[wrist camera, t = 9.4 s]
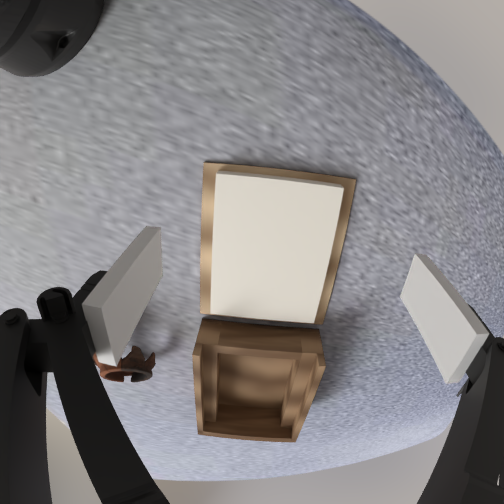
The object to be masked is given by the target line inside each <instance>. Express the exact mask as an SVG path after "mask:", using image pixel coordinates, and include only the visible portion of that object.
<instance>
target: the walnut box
mask: <svg viewBox="0 0 504 504" xmlns="http://www.w3.org/2000/svg"><path fill="white" fill-rule="evenodd" d="M192 356H193V374H194V390H195V404H196V417H197V428H198V434H199V435H206V436H214V437H222V438H231V439H242V440H255V441H271V442H296V440H297V437H298V435H299V433H300V430H301V428H302V426H303V423H304V421H305V419H306V416H307V414H308V411H309V409H310V406H311V404H312V401H313V399H314V396H315V394H316V391H317V389H318V386H319V383H320V381H321V378H322V375H323V373H324V370H325V367H326V364H325V359H324V353H323V348H322V343H321V337H320V332H319V329H311V328H296V327H283V326H271V325H259V324H249V323H239V322H229V321H220V320H212V319H203V318H202V322H201V325H200V329H199V333H198V336H197V340H196V344H195V347H194V351H193V355H192Z"/></svg>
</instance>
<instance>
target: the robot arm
mask: <svg viewBox="0 0 504 504" xmlns="http://www.w3.org/2000/svg"><path fill="white" fill-rule="evenodd" d="M103 4H104V0H0V68H2V69H4V70H6V71H8V72H10V73H12V74H14V75H17V76H22V77H38V76H44V75H47V74H50V73H52V72H54V71H56V70H58V69H59V68H61V67H62V66H64V65H65V64H66V63H68V62H69V61H70V60H71V59H72V58H73V57H74V56H75V55H76V54H77V53H78V52H79V51H80V49H81V48H82V47H83V46H84V44H85V43H86V42H87V40H88V39H89V37H90V36H91V34H92V32H93V31H94V29H95V27H96V25H97V22H98V20H99V18H100V15H101V12H102V8H103ZM162 277H163V267H162V248H161V227H151V226H146V227H145V228H144V229H143V230H142V232H141V233H140V234H139V235H138V236H137V237H136V238H135V240H134V241H133V242H132V243H131V244H130V245H129V247H128V248H127V249H126V250H125V251H124V252H123V254H122V255H121V256H120V257H119V258H118V260H117V261H116V262H115V263H114V264H113V266H112V267H111V268H110V269H109V270H108V271H101V270H100V271H98V272H97V273H95V274H93V275H92V276H91V277H90V278H89V279H88V280H87V281H86V282H85V284H84V285H83V286H82V287H81V289H80V290H79V291H78V292H77V293H76V294H75V296H74V297H73V298H72V294H71V292H70V291H69V290H68V289H66V288H63V287H55V288H51V289H48V290H45V291H44V292H43V293H41V294H40V295H39V297H38V298H37V306H38V309H39V311H40V314H41V317H42V319H28V317H27V314H26V312H25V311H24V310H22V309H20V308H13V309H9V310H7V311H5V312H4V313H3V314H2V315H0V504H52V498H51V491H50V483H49V473H48V462H47V446H46V445H47V444H46V389H47V372H53V373H54V377H55V380H56V384H57V388H58V392H59V395H60V399H61V402H62V405H63V409H64V412H65V415H66V418H67V421H68V424H69V427H70V430H71V432H72V435H73V438H74V441H75V443H76V446H77V449H78V451H79V454H80V456H81V459H82V461H83V463H84V466H85V468H86V470H87V473H88V475H89V477H90V479H91V481H92V484H93V486H94V488H95V490H96V492H97V494H98V496H99V498H100V500H101V502H102V504H170V503H169V502H168V500H167V499H166V497H165V496H164V494H163V493H162V492H161V490H160V489H159V488H158V486H157V485H156V483H155V482H154V480H153V479H152V477H151V475H150V474H149V472H148V471H147V469H146V467H145V466H144V464H143V462H142V461H141V459H140V457H139V455H138V454H137V452H136V450H135V448H134V447H133V445H132V443H131V441H130V439H129V437H128V435H127V434H126V432H125V430H124V428H123V426H122V424H121V422H120V420H119V418H118V416H117V414H116V412H115V410H114V408H113V405H112V403H111V401H110V399H109V397H108V395H107V392H106V390H105V388H104V386H103V383H102V381H101V379H100V376H99V374H98V371H97V369H96V366H95V364H94V361H93V359H92V357H93V355H94V353H95V352H96V355H97V358H98V361H99V362H100V363H104V364H108V365H112V366H116V367H117V365H118V362H119V360H120V358H121V356H122V354H123V352H124V350H125V348H126V346H127V344H128V342H129V340H130V338H131V336H132V334H133V332H134V330H135V328H136V326H137V324H138V322H139V320H140V318H141V316H142V314H143V312H144V310H145V308H146V307H147V305H148V303H149V301H150V299H151V297H152V295H153V293H154V291H155V289H156V288H157V286H158V284H159V282H160V280H161V278H162ZM400 298H401V299H402V301H403V303H404V305H405V306H406V308H407V310H408V312H409V313H410V315H411V317H412V319H413V321H414V322H415V324H416V326H417V328H418V330H419V332H420V333H421V335H422V337H423V339H424V341H425V343H426V345H427V347H428V349H429V351H430V353H431V354H432V356H433V358H434V360H435V362H436V364H437V366H438V368H439V370H440V373H441V375H442V377H443V379H444V381H445V383H446V384H451V383H458V382H459V381H460V380H461V378H462V377H463V376H464V374H465V373H467V375H468V377H469V378H468V380H467V381H466V383H465V384H464V385H463V387H462V388H461V390H460V391H459V392H458V394H457V395H456V396H457V397H458V396H459V395H460V394H462V395H461V398H460V402H459V405H458V408H457V411H456V414H455V417H454V420H453V423H452V426H451V429H450V431H449V434H448V437H447V439H446V442H445V444H444V447H443V449H442V452H441V454H440V457H439V459H438V461H437V464H436V466H435V468H434V470H433V473H432V475H431V477H430V479H429V481H428V483H427V485H426V487H425V489H424V491H423V493H422V495H421V497H420V499H419V500H418V502H417V504H504V339H503V338H501V337H496V338H495V337H494V336H493V334H492V333H491V332H490V330H489V329H488V327H487V326H486V325H485V323H484V322H483V321H482V319H481V318H480V317H479V316H478V314H477V313H476V311H475V310H474V309H473V308H472V307H471V306H470V305H469V304H467V303H466V302H465V300H464V299H463V298H462V297H461V295H460V294H459V293H458V292H457V290H456V289H455V288H454V287H453V285H452V284H451V283H450V282H449V281H448V279H447V278H446V277H445V276H444V275H443V273H442V272H441V271H440V270H439V269H438V268H437V266H436V265H435V264H434V263H433V262H432V261H431V260H430V258H429V257H428V256H427V255H423V254H415V255H414V258H413V261H412V264H411V267H410V270H409V273H408V276H407V279H406V282H405V284H404V287H403V290H402V293H401V295H400ZM499 473H500V476H499ZM498 477H499V486H498V485H497V481H498Z"/></svg>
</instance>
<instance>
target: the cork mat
mask: <svg viewBox="0 0 504 504" xmlns="http://www.w3.org/2000/svg"><path fill="white" fill-rule="evenodd" d="M218 170H219V171H231V172H242V173H253V174H263V175H272V176H281V177H290V178H298V179H306V180H313V181H321V182H328V183H335V184H341V186H342V187H343V188H344V191H343V196H342V202H341V207H340V212H339V217H338V222H337V227H336V232H335V237H334V241H333V246H332V251H331V255H330V260H329V264H328V268H327V273H326V277H325V281H324V285H323V289H322V293H321V297H320V301H319V305H318V309H317V313H316V317H315V321H314V323H306V324H322V325H323V321H324V317H325V314H326V310H327V307H328V303H329V299H330V295H331V292H332V288H333V284H334V280H335V276H336V272H337V268H338V264H339V259H340V255H341V251H342V246H343V242H344V238H345V233H346V228H347V224H348V219H349V214H350V209H351V204H352V199H353V194H354V189H355V183H356V179H350V178H344V177H338V176H331V175H324V174H317V173H310V172H302V171H294V170H285V169H277V168H267V167H257V166H247V165H235V164H223V163H209V162H204V168H203V190H202V217H201V263H200V313H202V314H210V305H211V268H212V241H213V218H214V199H215V181H216V173H217V172H218ZM210 315H217V314H210ZM219 316H226V315H219ZM228 317H235V316H228ZM237 318H245V317H237ZM247 319H255V318H247ZM257 320H266V319H257ZM268 321H277V320H268ZM280 322H289V321H280ZM292 323H302V322H292Z"/></svg>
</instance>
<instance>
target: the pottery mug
mask: <svg viewBox="0 0 504 504" xmlns="http://www.w3.org/2000/svg"><path fill="white" fill-rule="evenodd" d="M92 359H93V361H94V364H95V365H97V366H98V367H99V368H100V376H101V377H103V378H104V379H107V380H111V381H117V382H124V376H132V377H131V382H140V381H145V380H148V379H150V378H151V377H152V371H151V370H152V368H153V367H154V366H155V364H156V363H155V353H154V352H153V353H152V354H151V356H150V357H149V358H148V359H147V360H146V361H145V358H144V356H143V354H142V352H141V349H140V348H138V347H137V346H132V351H131V352H130V353H129V354H128V355H127V356H126V357H125V358H123V359H122V358H120V360H119V362H118V365H117V367H116V366H112V365H108V364H104V363H100V362H99V361H98V358H97V355H96V352H95V353H94V355H93V357H92Z"/></svg>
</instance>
